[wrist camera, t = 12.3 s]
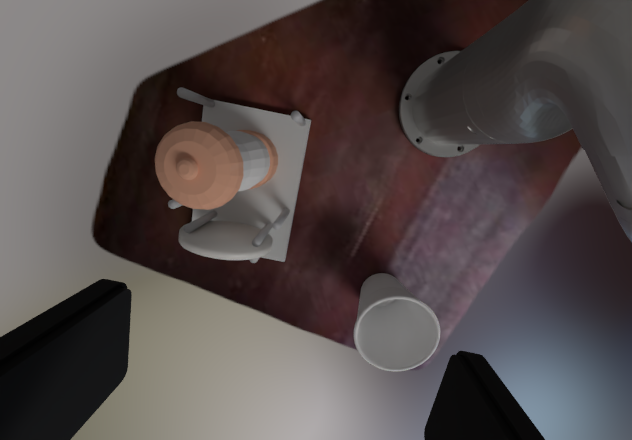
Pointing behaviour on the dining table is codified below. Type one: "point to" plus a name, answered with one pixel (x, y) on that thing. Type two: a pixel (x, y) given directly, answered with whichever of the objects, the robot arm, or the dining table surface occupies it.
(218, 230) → the dish rack
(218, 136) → the salt shaker
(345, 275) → the dining table surface
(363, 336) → the cup
